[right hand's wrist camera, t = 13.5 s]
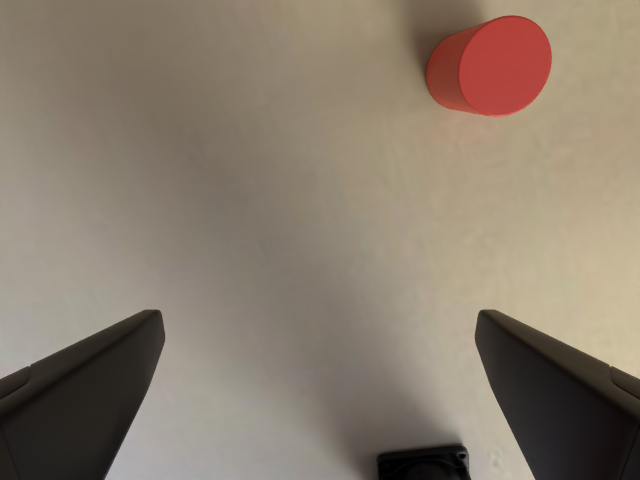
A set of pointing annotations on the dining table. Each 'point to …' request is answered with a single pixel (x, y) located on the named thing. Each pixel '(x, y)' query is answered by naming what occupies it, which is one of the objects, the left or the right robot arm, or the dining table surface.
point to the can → (490, 67)
